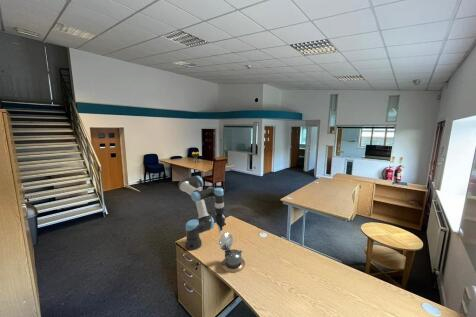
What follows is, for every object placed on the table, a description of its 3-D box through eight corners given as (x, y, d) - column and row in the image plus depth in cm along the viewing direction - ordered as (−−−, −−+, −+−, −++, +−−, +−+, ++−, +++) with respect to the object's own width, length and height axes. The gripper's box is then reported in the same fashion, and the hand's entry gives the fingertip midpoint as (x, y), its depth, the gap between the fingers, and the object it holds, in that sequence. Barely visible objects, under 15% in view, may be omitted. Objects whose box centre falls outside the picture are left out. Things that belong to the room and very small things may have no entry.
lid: (221, 254, 167) (219, 253, 169) (234, 247, 176) (232, 246, 177) (218, 236, 166) (216, 236, 168) (231, 230, 175) (229, 230, 177)
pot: (216, 263, 169) (216, 254, 167) (234, 253, 181) (234, 244, 180) (231, 276, 155) (231, 266, 153) (250, 264, 167) (249, 254, 166)
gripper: (211, 205, 174) (212, 232, 178) (220, 210, 164) (221, 238, 168) (218, 203, 179) (219, 228, 183) (228, 207, 169) (229, 234, 173)
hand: (220, 233), depth 176 cm, fingers closed
